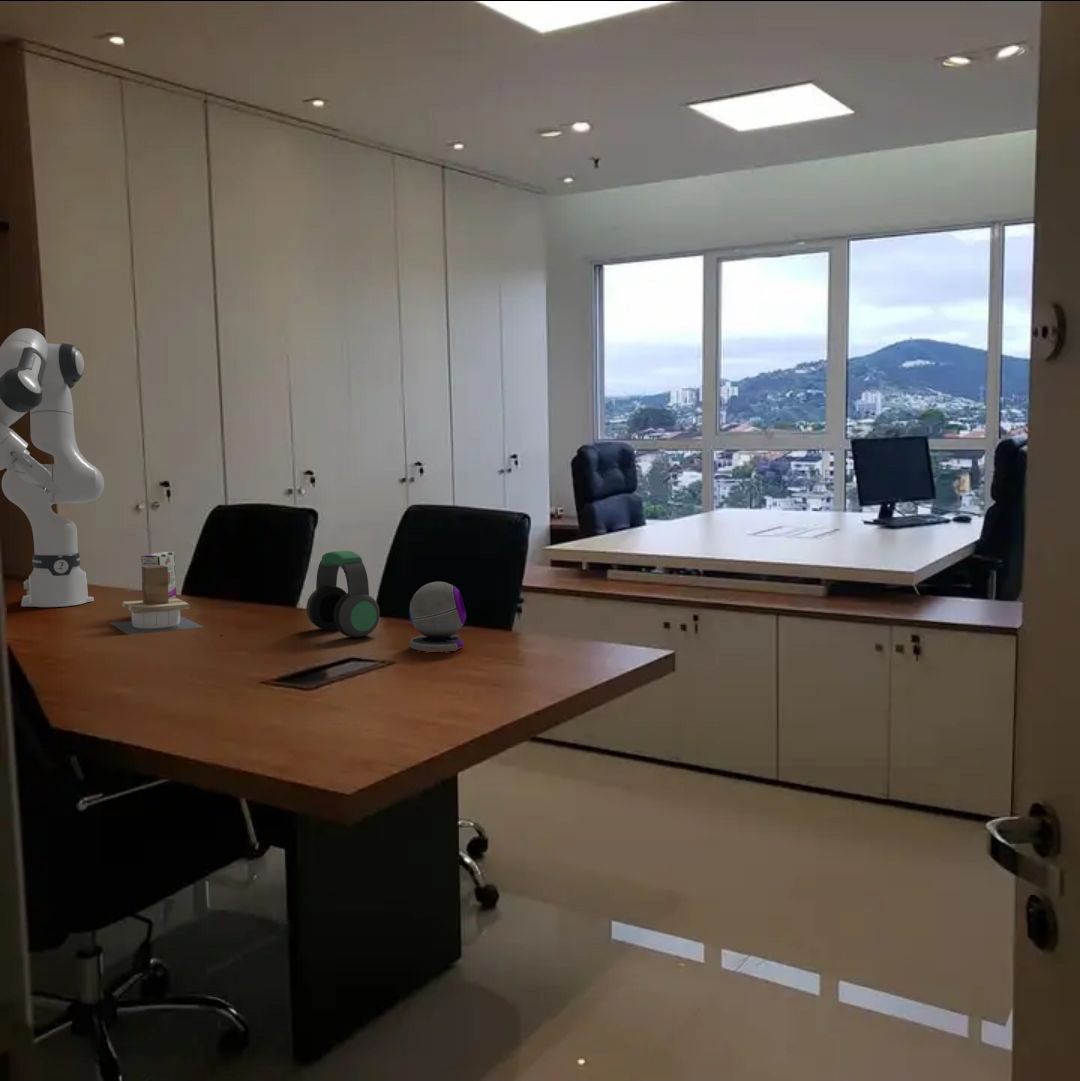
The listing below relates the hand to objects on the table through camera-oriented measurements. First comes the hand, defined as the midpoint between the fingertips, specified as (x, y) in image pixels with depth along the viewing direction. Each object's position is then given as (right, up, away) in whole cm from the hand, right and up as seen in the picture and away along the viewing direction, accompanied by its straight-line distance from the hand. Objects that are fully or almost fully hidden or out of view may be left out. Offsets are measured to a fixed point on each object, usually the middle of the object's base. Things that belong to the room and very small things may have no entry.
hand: (54, 492), depth 259 cm
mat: (+22, -33, +7) cm, 40 cm away
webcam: (+94, -36, -16) cm, 102 cm away
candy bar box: (+18, -31, +21) cm, 42 cm away
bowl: (+22, -33, +7) cm, 40 cm away
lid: (+22, -28, +6) cm, 36 cm away
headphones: (+70, -34, 0) cm, 78 cm away
